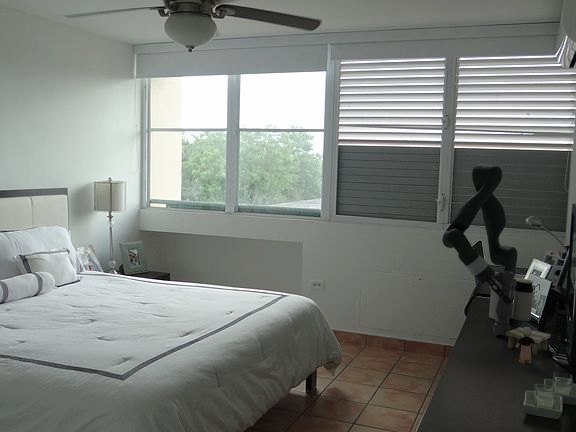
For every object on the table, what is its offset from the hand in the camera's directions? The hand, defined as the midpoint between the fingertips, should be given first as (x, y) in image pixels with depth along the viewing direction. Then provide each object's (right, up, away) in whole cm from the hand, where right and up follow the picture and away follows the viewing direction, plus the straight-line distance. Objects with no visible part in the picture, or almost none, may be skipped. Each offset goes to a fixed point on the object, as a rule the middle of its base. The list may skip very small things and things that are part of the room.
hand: (509, 301), depth 245 cm
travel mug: (+17, -13, +32) cm, 38 cm away
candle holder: (-3, -13, +2) cm, 13 cm away
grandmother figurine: (-6, -17, -30) cm, 35 cm away
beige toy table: (+2, -16, -14) cm, 21 cm away
